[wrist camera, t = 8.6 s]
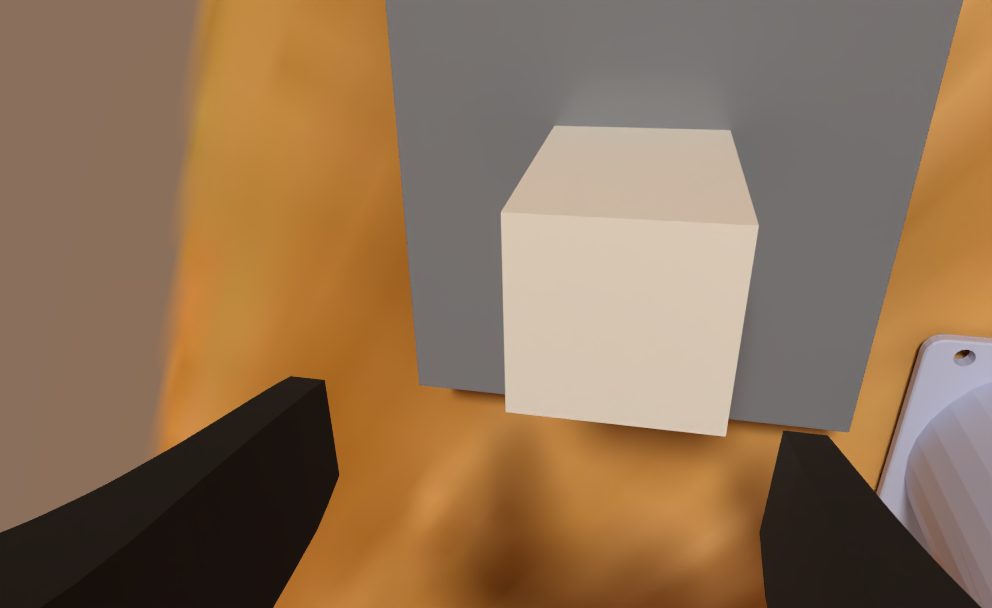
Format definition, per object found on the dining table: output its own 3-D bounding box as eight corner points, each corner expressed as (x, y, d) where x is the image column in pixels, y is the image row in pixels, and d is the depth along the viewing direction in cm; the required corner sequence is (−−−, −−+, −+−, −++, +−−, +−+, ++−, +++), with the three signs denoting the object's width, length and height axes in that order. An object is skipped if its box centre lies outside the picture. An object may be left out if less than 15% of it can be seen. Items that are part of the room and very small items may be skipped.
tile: (940, -80, 15) (984, -83, 13) (830, 380, 21) (848, 432, 19) (415, -66, 18) (380, -66, 15) (442, 343, 23) (419, 384, 21)
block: (730, 130, 16) (759, 225, 11) (709, 288, 18) (725, 436, 12) (554, 125, 17) (500, 212, 11) (552, 278, 18) (505, 412, 13)
